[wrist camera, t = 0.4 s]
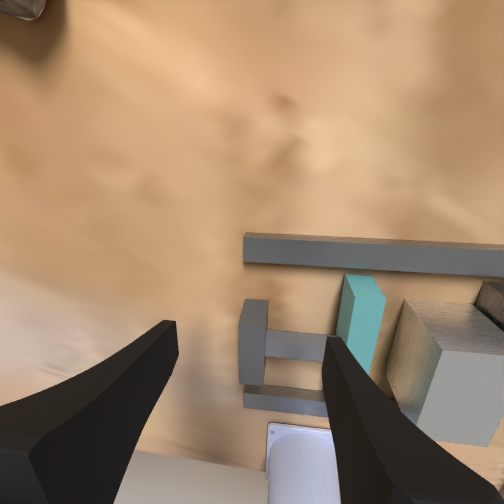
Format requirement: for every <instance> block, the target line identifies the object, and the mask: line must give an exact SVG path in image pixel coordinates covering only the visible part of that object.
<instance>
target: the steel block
mask: <svg viewBox="0 0 504 504" xmlns="http://www.w3.org/2000/svg"><path fill="white" fill-rule="evenodd" d="M385 374H386V377H387V379H388V381H389V384H390V386H391V389H392V391H393V393H394V396H395V398H396V400H397V403H398V405H399V408H400V410H401V412H402V413H403V414H404V415H405V416H406V417H407V418H408V419H409V420H410V421H412V422H413V423H414V424H415V425H416V426H417V427H418V428H419V429H421V430H422V431H423V432H424V433H425V434H426V435H427V436H429V437H430V438H431V439H432V440H435V441H443V442H451V443H459V444H467V445H475V446H483V447H488V445H489V443H490V441H491V440H492V438H493V436H494V434H495V432H496V430H497V428H498V426H499V424H500V422H501V420H502V418H503V416H504V332H503V331H502V330H501V329H500V328H498V327H497V326H496V325H495V324H494V323H493V322H492V321H491V320H489V319H488V318H487V317H486V316H485V315H484V314H483V313H481V312H480V311H479V310H478V309H477V308H476V307H475V306H473V305H472V304H471V303H457V302H443V301H429V300H415V299H404V303H403V307H402V310H401V314H400V318H399V322H398V326H397V330H396V334H395V337H394V341H393V345H392V349H391V353H390V357H389V361H388V364H387V368H386V372H385Z"/></svg>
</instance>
